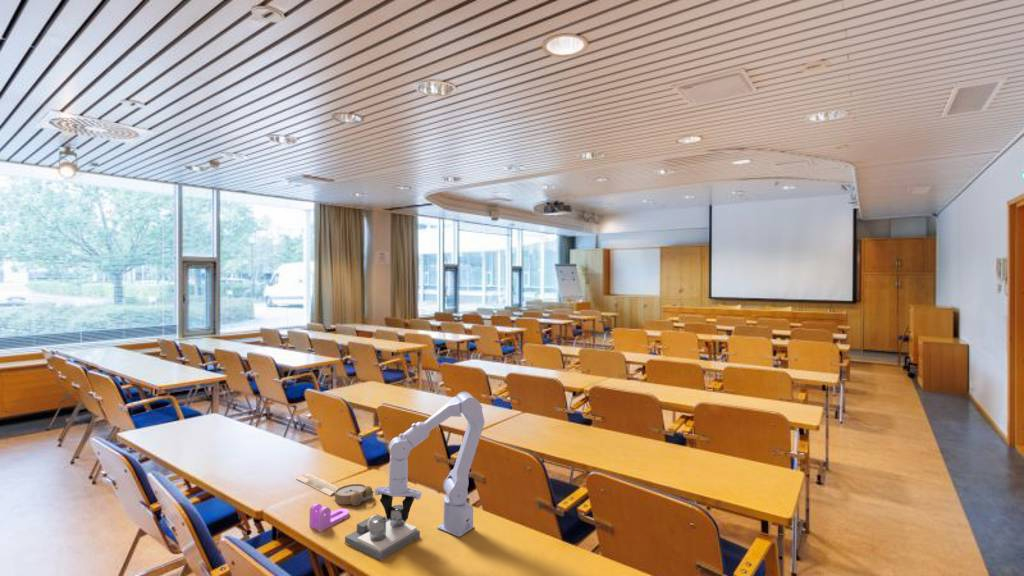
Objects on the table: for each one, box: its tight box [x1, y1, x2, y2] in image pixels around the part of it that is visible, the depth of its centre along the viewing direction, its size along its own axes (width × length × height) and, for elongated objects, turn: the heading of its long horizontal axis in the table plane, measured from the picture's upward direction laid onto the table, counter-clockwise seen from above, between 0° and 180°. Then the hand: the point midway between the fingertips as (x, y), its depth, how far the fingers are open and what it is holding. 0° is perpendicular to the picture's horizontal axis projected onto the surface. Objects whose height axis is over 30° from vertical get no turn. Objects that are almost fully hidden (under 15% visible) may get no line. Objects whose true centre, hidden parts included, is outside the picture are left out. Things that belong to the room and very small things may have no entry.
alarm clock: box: [331, 483, 375, 507], centre depth 179 cm, size 11×5×15 cm
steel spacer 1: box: [369, 516, 386, 541], centre depth 148 cm, size 5×5×5 cm
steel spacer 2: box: [390, 504, 406, 528], centre depth 155 cm, size 5×5×5 cm
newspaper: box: [296, 473, 340, 497], centre depth 190 cm, size 24×7×2 cm, turn 53°
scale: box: [344, 513, 421, 561], centre depth 152 cm, size 16×16×6 cm
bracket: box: [308, 502, 350, 532], centre depth 163 cm, size 13×6×7 cm, turn 150°
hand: (397, 518), depth 154 cm, fingers open, 5 cm apart
